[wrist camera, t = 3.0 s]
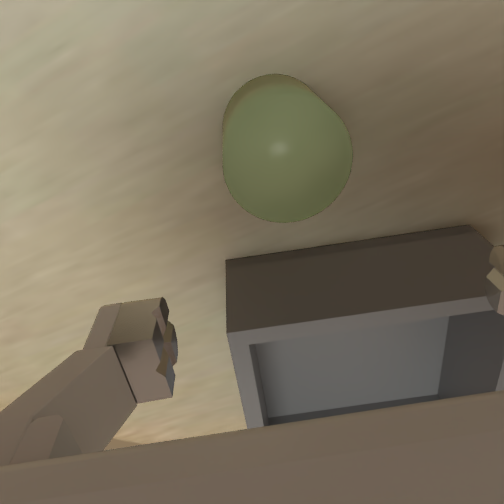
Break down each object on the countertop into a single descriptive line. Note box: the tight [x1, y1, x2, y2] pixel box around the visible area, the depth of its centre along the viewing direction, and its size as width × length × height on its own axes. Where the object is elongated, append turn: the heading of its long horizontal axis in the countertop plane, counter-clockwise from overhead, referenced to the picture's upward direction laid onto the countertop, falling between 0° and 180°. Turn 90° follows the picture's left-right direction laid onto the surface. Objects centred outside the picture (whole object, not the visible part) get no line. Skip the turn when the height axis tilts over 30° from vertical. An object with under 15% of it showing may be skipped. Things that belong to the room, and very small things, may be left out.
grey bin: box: [226, 225, 504, 429], centre depth 28 cm, size 16×16×7 cm
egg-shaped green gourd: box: [223, 74, 353, 223], centre depth 20 cm, size 6×6×6 cm
